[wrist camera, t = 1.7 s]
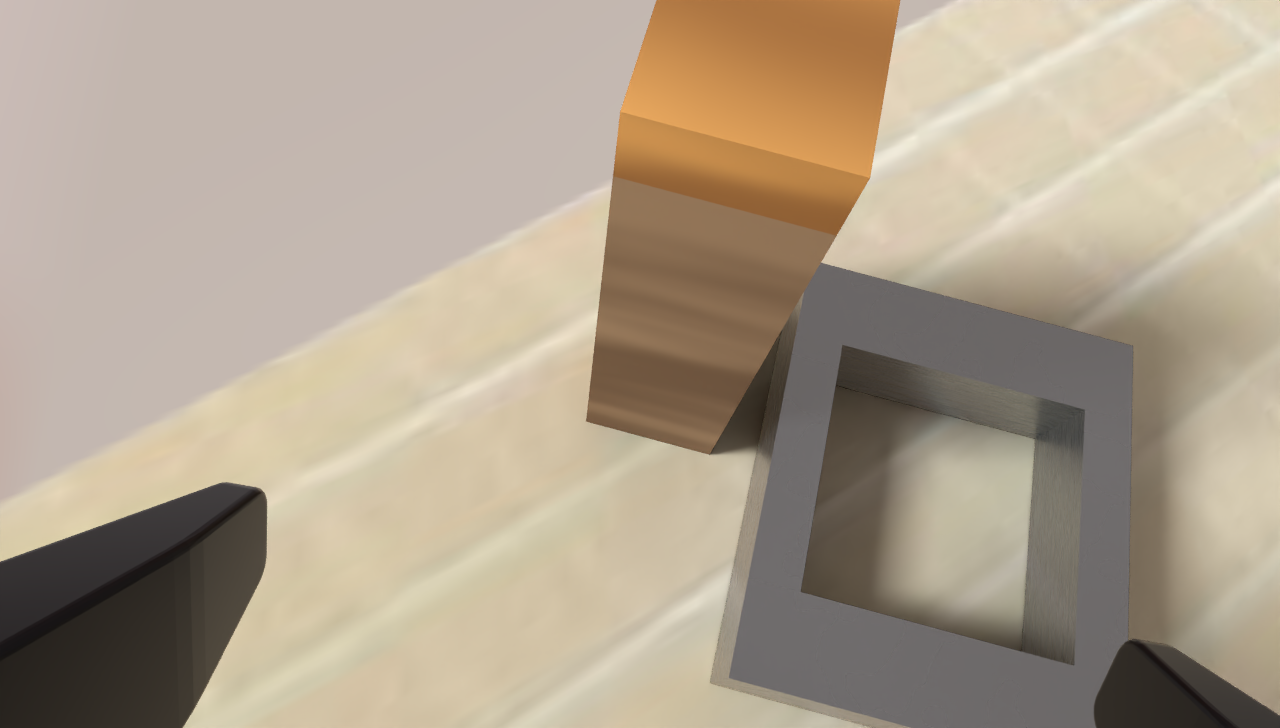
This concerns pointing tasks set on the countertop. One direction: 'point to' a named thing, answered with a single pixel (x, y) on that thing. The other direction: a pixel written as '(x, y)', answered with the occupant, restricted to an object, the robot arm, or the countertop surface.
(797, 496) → the grey rectangular frame
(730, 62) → the walnut pin
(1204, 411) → the countertop surface
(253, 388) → the countertop surface
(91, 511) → the countertop surface
